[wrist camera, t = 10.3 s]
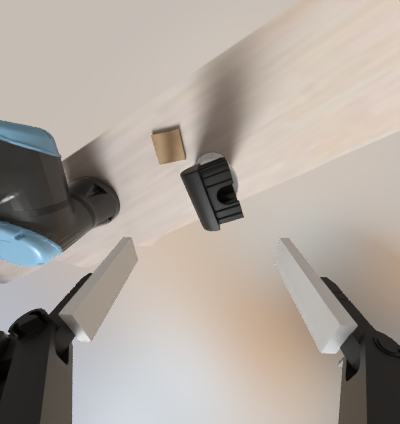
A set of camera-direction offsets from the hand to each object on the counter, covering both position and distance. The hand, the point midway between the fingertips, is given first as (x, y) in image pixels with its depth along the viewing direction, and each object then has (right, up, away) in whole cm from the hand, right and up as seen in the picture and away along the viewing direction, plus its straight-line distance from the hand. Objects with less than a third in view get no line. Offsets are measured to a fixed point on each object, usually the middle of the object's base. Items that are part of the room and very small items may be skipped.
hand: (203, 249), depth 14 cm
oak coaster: (-8, +20, +25) cm, 33 cm away
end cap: (+2, +8, +14) cm, 16 cm away
